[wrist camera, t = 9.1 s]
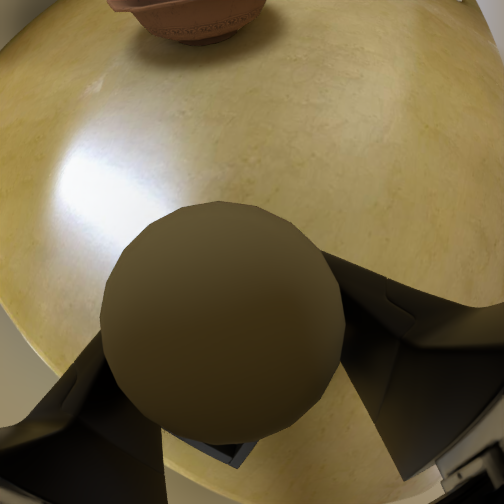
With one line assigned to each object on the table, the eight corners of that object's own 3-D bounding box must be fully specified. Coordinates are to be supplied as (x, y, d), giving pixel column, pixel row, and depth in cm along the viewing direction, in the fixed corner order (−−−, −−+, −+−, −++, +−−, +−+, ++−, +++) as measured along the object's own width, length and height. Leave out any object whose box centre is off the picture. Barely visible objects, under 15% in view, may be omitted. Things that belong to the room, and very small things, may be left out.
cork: (280, 391, 14) (316, 517, 3) (175, 354, 15) (32, 397, 4) (315, 286, 15) (418, 212, 5) (211, 252, 16) (127, 130, 5)
